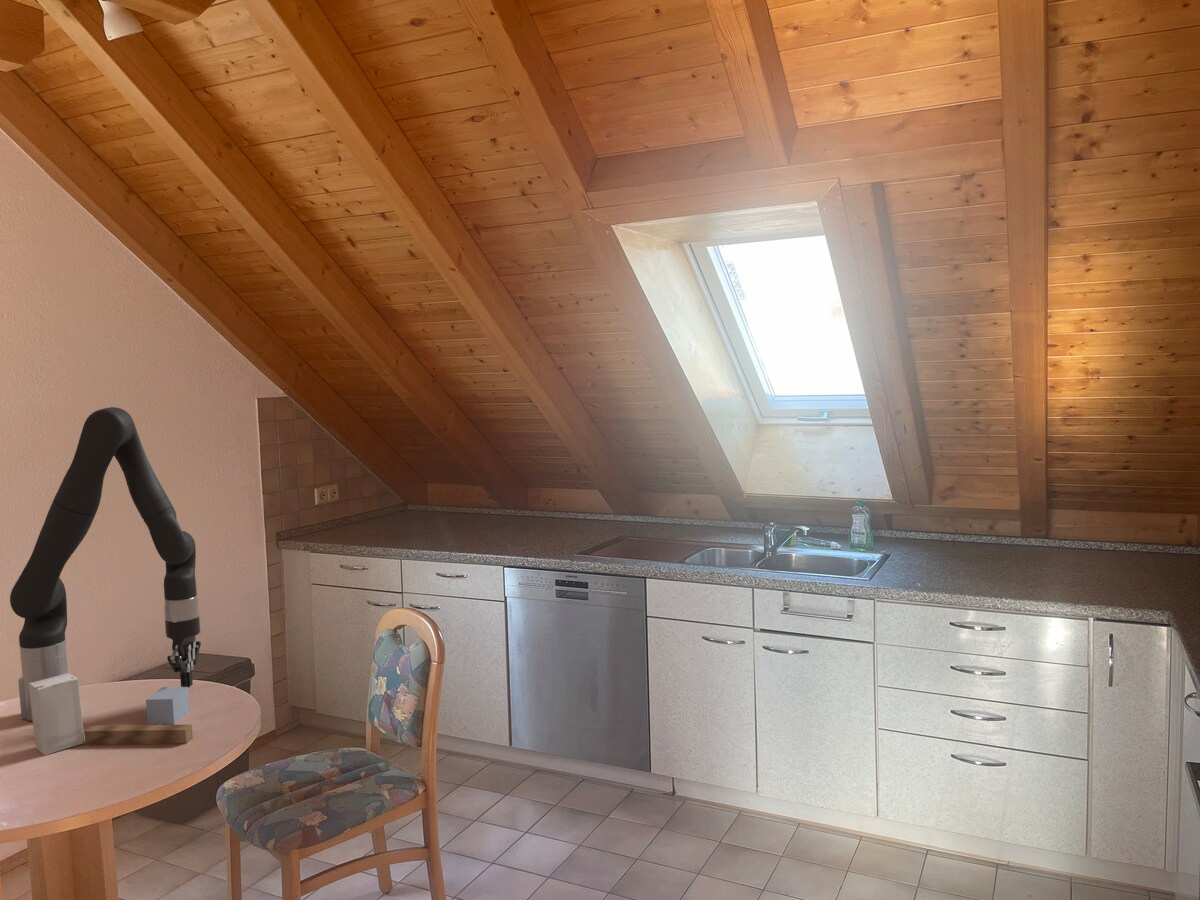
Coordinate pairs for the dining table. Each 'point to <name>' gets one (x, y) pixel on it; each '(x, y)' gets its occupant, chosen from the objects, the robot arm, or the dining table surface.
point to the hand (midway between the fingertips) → (186, 686)
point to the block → (167, 705)
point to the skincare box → (56, 713)
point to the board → (138, 734)
